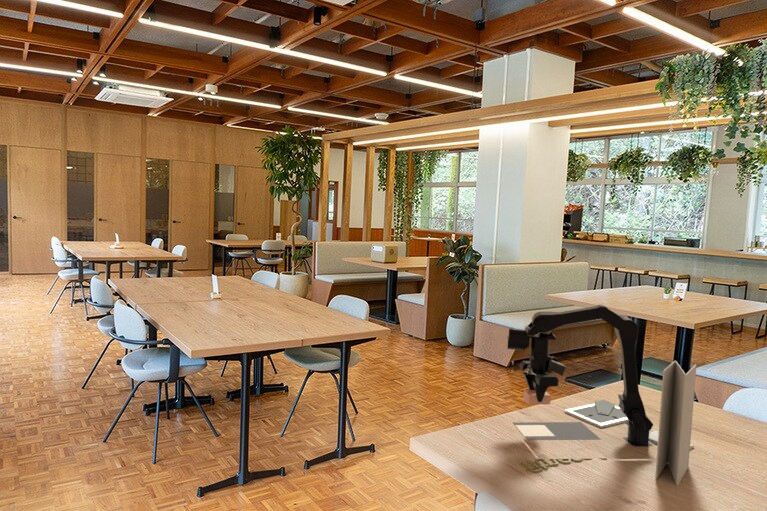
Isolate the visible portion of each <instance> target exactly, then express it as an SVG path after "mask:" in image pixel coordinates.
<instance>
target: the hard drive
mask: <svg viewBox="0 0 767 511" xmlns="http://www.w3.org/2000/svg"><path fill="white" fill-rule="evenodd" d="M658 434H659V430H658V431H657V430H654V431H651V432H650V431H649V443H651V444H655V445H657V446H658ZM694 448H695V446H694V444H691V443H690V450H692V449H694Z"/></svg>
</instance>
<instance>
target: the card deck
mask: <svg viewBox="0 0 767 511" xmlns="http://www.w3.org/2000/svg"><path fill="white" fill-rule="evenodd" d="M551 396H552V395H551V394H550V393H549V392H547V391H546V392H545V395H544V397H543V400H542V402H538V400H537V397H536V393H535V390H529V389H524V390H523V397H522V398H523V400H524V401H525V402H526V403H527V404H528V405H550V404H551V398H552V397H551Z"/></svg>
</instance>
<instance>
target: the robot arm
mask: <svg viewBox="0 0 767 511" xmlns="http://www.w3.org/2000/svg"><path fill="white" fill-rule="evenodd" d="M596 320H603V321H604V322H606V323H607V324H609V325H610V326H611V327H613V328H614V332H615V335H616V338H617V340H618V344H619V346H620V357H621V358H620V359H621V368H622V370H621V371H622V380H623V381H622V382H623V391H622V392H623V393H622V394H619V393H618V394H617V395H618V400H619V404H618V407H619V408H620V409H621V410H622V412H623V413H624V414H625V415H626V417H627V419H628V420H629V423H628V424H627V427H628V428H627V437H626V436H625V437H623V440H625V441H626V442H627V443H629V444H630V445H631V446H632V447H653V446H654V445H653V443H651V442H650V441H649V433H650V431H651V430H652V429H653V426H654V423H653V422H652V421H651V419H650V418H649V416H648V415H647V414H646V413H647V412H646V409H645V405H644V403H643V400H642V397H641V394H640V392H639V380H638V379H639V378H638V368H637V367H638V366H637V357H636V356H637V355H636V345H637V341H638V336H639V327H638V324H637V323H636V322H635V321H633V320H632V319H631V318H630V317H628V316H625V315H624V316H620V315H619V314H618V313H616V312H614V311H612V310H611V309H609V308H608V307H607V306H605V305H604V304H597V305H593V306H588V307H582V308H578V309H577V308H576V309H572V310H571V309H570V310H565V311H537V312H535V313H534V314H533V316H532V318H531V322H530V323H529V324H528V325H527V326H526V327H525V329H523V328H521V329H520V328H514V327H509V328H508V334H507V335H508V336H507V345H506V347H507V350H512V351H513V350H516V351H526V350H527V349H528V348H529V347H530V352H528V353H527V356H528V357H529V360H522V361H520V362H519V370H520V371H522V374H523V377H524V379H525V381H526V385H527V386H528V390H535V393H536V397H537V400H538V402H542V400H543V397H544V395H545V392H547V389H548V388H550V387H559V385H560V384H559V382H560V380H559V378H558V377H557V376H556V375H554V373H556V374H558V375H559V376H562V377H563V376H564V374H565V372H566V369H567V366H566V365H564V364H563V363H561V362H559V360H558V358H557V357H555V356H553V355H552V356H551V355H549V354H550V342H551V340H554V341H555V340H557V337H556V335H555V334H554V333H553V332H552V331H553V330H556V329H559V327H562V326H566V325H572V324H577V323H583V322H590V321H596ZM530 339H531V340H530ZM552 372H553V373H552Z"/></svg>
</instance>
